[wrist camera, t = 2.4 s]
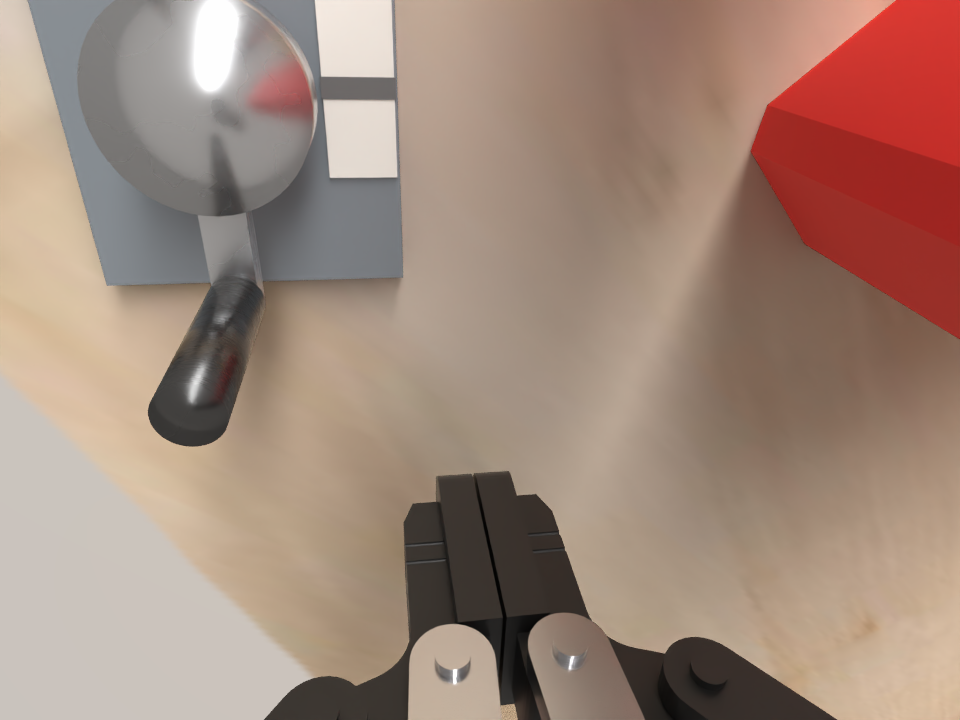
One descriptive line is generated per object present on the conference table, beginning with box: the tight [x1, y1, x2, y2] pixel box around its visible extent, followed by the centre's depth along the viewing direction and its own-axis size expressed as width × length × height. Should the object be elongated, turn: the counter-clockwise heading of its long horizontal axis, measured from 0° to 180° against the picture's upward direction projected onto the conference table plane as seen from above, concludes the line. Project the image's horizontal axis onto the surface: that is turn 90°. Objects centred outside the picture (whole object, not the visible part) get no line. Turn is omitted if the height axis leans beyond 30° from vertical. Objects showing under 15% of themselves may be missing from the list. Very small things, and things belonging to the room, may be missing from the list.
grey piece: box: [77, 0, 318, 446], centre depth 16 cm, size 6×13×8 cm, turn 178°
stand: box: [28, 0, 403, 286], centre depth 21 cm, size 11×14×4 cm
